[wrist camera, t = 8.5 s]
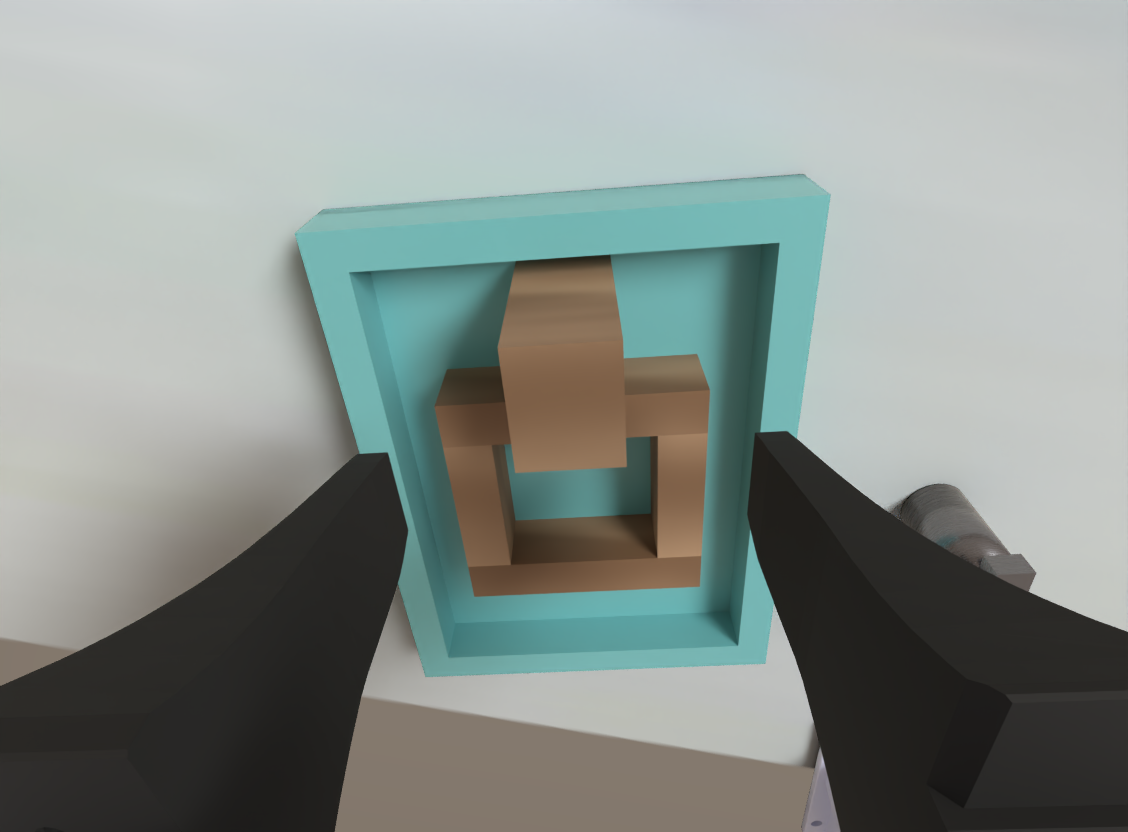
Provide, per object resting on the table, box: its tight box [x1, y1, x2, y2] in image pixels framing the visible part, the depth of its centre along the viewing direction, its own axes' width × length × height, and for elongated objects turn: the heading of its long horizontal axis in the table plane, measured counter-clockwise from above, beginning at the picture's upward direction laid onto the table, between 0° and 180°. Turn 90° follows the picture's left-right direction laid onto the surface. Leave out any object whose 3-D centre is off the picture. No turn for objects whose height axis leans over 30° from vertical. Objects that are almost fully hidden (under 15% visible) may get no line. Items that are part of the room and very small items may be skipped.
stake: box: [901, 484, 1036, 591], centre depth 20 cm, size 3×2×4 cm
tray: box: [295, 174, 830, 677], centre depth 20 cm, size 16×12×2 cm
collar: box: [434, 254, 710, 597], centre depth 17 cm, size 10×7×5 cm
